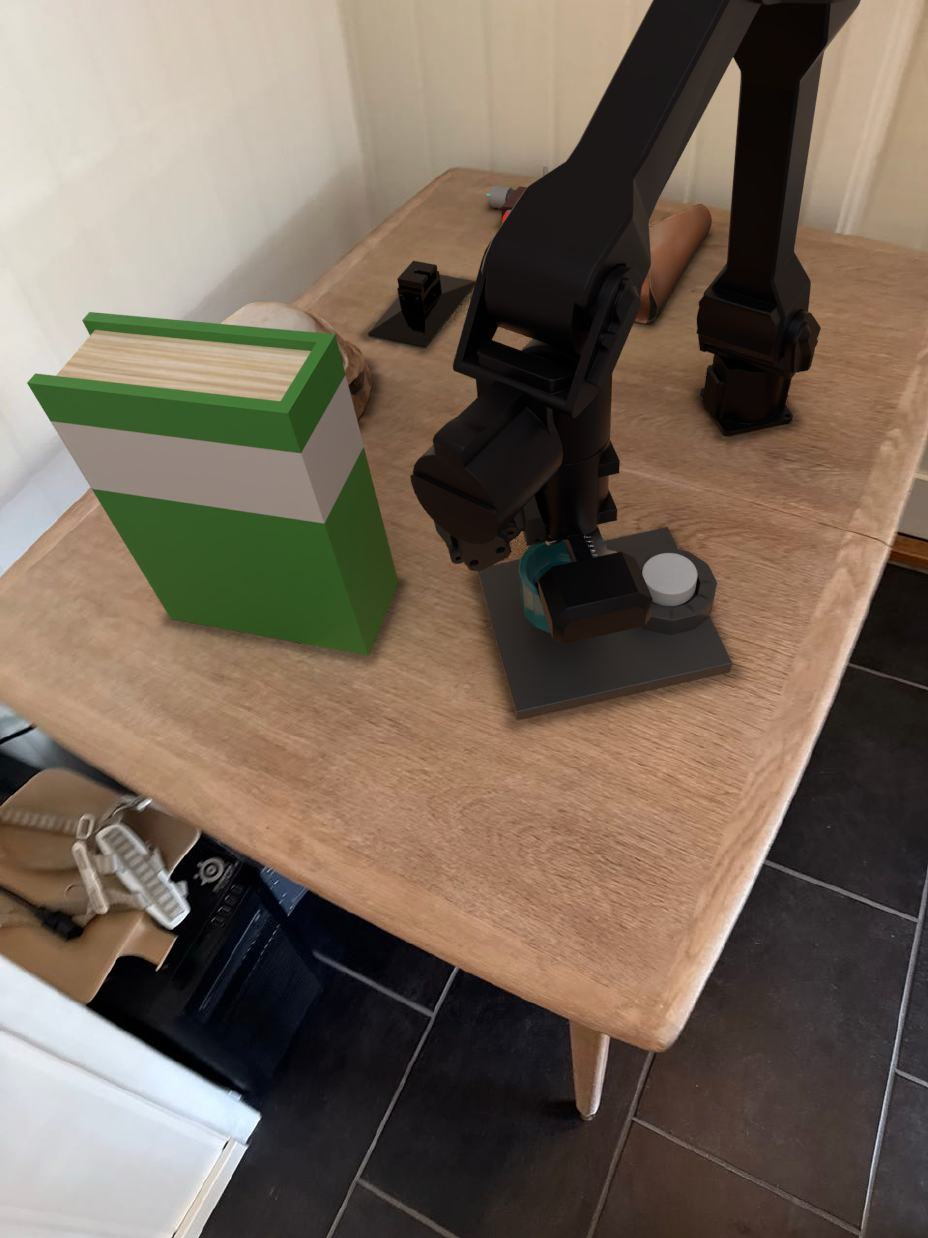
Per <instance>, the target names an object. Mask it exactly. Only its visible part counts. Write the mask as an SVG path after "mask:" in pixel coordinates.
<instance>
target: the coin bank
mask: <svg viewBox="0 0 928 1238" xmlns="http://www.w3.org/2000/svg"><path fill="white" fill-rule="evenodd" d="M219 324H228V325H239V326H250V327H261V328H272V329H283V330H294V331H305V332H316V333H327V334H335V335H336V339H337V343H338V347H339V351H340V355H341V359H342V363H343V367H344V370H345V374H346V378H347V382H348V386H349V390H350V394H351V398H352V402H353V406H354V410H355V414H356V418H357V421H358V420H359V418H360V417H362V415H363V413H364V412H365V409H366V407H367V404H368V401H369V399H370V396H371V390H372V389H373V378H372V375H371V370H370V367H369V364H368V363H367V361H365V358H364V355H363V352H362V351H361V349H360V348H359V347H358V346H356V345H355V344H354V343H352V342H350V341H346V340H345V339H344V338H343V337H342V336H341V335H340V333H338V331H337V330H336V329H335V328H334V327H333V326H332V325H331V324H330V323H329V322H328V321H327V320H325V319H323V318H322V317H320V316H319V315H317V314H316V313H314V312H309V311H305V310H303V309H301V308H300V307H297V306H295V305H292V304H290V303H289V304H288V303H284V302H280V301H279V302H278V301H254V302H253V301H252V302H250V303H247V304H245V305H243V306H242V307H240V308H239V309H237V310H236V311H235V312H234V313H232V314H231V315H229V316H228V317H226V318H225V319H224V320H223V321H221V322H220V323H219Z"/></svg>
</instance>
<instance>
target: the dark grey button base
mask: <svg viewBox="0 0 928 1238" xmlns="http://www.w3.org/2000/svg"><path fill="white" fill-rule="evenodd" d="M604 543H605V545H606V548H607V549H608V550H610V551H615V552H621V551H622V552H624V553H626V554H628V555H630V556H632V557H634V558H635V559H636V561H637V563H638V566H639V568H640V570H641V573H642V570H643V567H644V565H645V563H646V562H647V561H648V560H649V559H650V558H652V557H654V556H656V555H659V554H663V553H674V554H679V555H682V556H684V557H686V558H687V559H689V560H690V561H691V562H692V563H693V564H694V566H695V567H696V570H697V582H696V588H695V592H694V594H693V596H692V597H691V598H690V599H689V600H688V601H687V602H685V603H683V604H681V605H678V606H662V605H658V604H656V603H654V602H652V610H651V618H650V619H649V621H648V622H647V624H646V625H645V626H643V627H639V628H634V629H630V630H626V631H621V632H617V633H612V634H608V635H603V636H599V637H595V638H590V639H586V640H581V641H577V642H572V643H568V644H562V643H560V642H558V641H556V640H553V638H552V635H551V634H550V633H548V632H545V631H543V630H541V629H539V628H537V627H535V626H534V625H533V624H532V623H531V622H530V621H529V620H528V619H527V618H526V616H525V614H524V611H523V608H522V605H521V594H520V582H519V570H518V569H519V564H520V560H521V558H519V559H515V560H510V561H506V562H501V563H496V564H494V565H492V566H490V567H488V568H486V569H483V570H481V571H476V573H477V579H478V583H479V586H480V590H481V594H482V597H483V601H484V605H485V608H486V611H487V615H488V619H489V623H490V626H491V630H492V633H493V637H494V642H495V645H496V648H497V651H498V655H499V659H500V663H501V666H502V670H503V674H504V677H505V680H506V684H507V688H508V693H509V695H510V699H511V703H512V707H513V710H514V714H515V717H516V720H517V721H520V720H526V719H530V718H534V717H538V716H542V715H547V714H552V713H556V712H561V711H564V710H568V709H573V708H578V707H583V706H587V705H591V704H597V703H600V702H604V701H609V700H614V699H617V698H623V697H627V696H631V695H635V694H636V695H637V694H640V693H644V692H648V691H653V690H657V689H662V688H666V687H670V686H675V685H679V684H683V683H690V682H692V681H697V680H701V679H706V678H711V677H715V676H719V675H723V674H727V673H731V669H732V666H733V662H732V660H731V658H730V656H729V653H728V652H727V649H726V646H725V645H724V643H723V641H722V639H721V636H720V635H719V632H718V630H717V628H716V625H715V623H714V622H713V620H712V618H711V614H712V611H713V606H714V601H715V596H716V591H717V586H718V581H717V578H716V577H715V575H714V573H713V571H712V569H711V567H710V565H709V563H707V562H706V561H704V560H702V559H701V558H699V557H698V556H697V555H695V554H693V553H692V552H691V551H689V550H683V549H679V548H678V546H677V544H676V542H675V540H674V538H673V536H672V534H671V531H670V529H669V528H668V526H664V527H660V528H655V529H650V530H647V531H641V532H637V533H633V534H632V533H631V534H628V535H624V536H620V537H615V538H611V539H606V540H604Z"/></svg>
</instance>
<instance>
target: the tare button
mask: <svg viewBox="0 0 928 1238" xmlns="http://www.w3.org/2000/svg"><path fill="white" fill-rule="evenodd" d="M642 575H643V577H644V580H645V582H646V584H647V586H648V589H649V591H650V593H651V596H652V598H653V601H652V602H654V603H656V604H658V605H662V606H678V605H681V604H683V603H685V602H687V601H688V600H689V599H690V598H691V597H692V596H693V594H694V592H695V588H696V582H697V570H696V567H695V566H694V564H693V563H692V562H691V561H690V560H689V559H687V558H686V557H684V556H682V555H679V554H674V553H663V554H659V555H656V556H654V557H652V558H650V559H649V560H648V561H647V562H646V563H645V565H644V567H643V570H642Z"/></svg>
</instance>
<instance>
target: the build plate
mask: <svg viewBox="0 0 928 1238" xmlns="http://www.w3.org/2000/svg"><path fill="white" fill-rule="evenodd" d="M396 280H397V286H398V287H397V295H398V296H397V297H398V298H397V299H396V300H395V301H394V302H393V303H392V304H391V305H390V307H389V308H388V309H387V310H386V311H385V312H384V314H383V315H382V316H381V317H380V318H379V319H378V321H377V322H376V323H375V324H374V325H373V326H372V327H371V328H370V329H369V331H368V332H367V336H368V338H372V339H376V340H382V341H387V342H391V343H395V344H399V345H405V346H409V347H413V348H417V349H426V348H427V347H428V346H429V344H430V343H431V342H432V341H433V340H434V338H435V337H436V336H437V335H438V334H439V332H440V331H441V329H442V328H443V327H444V325H445V324H446V323H447V322H448V320H450V318H451V317H452V316H453V314H454V313H455V312H456V310H457V309H458V308H459V306H460V305H461V304H462V303H463V301H464V300H465V299H466V298H467V296H468V295H469V294H470V293H471V292H472V291H473V290H474V286H475V282H476V280H472V279H471V280H470V279H466V278H460V277H454V276H451V275H444V274H440V271H439V270H438V265H437V264H434V263H430V262H429V263H428V262H425V261H424V262H423V261H417V260H412V261H411V262H410V264H408V266H407V267H406V268H405V269H404V270H403V271H402V273H401V274H400V275H399V276H398V277H397V278H396Z"/></svg>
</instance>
